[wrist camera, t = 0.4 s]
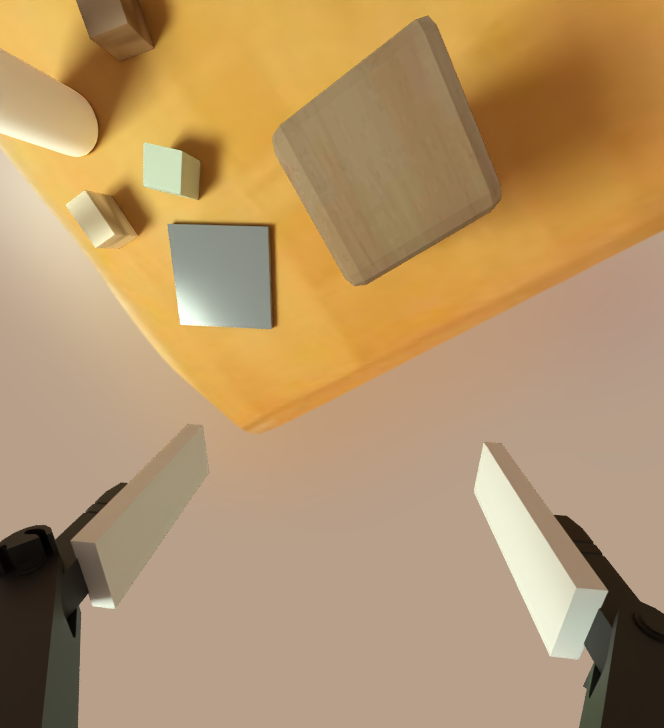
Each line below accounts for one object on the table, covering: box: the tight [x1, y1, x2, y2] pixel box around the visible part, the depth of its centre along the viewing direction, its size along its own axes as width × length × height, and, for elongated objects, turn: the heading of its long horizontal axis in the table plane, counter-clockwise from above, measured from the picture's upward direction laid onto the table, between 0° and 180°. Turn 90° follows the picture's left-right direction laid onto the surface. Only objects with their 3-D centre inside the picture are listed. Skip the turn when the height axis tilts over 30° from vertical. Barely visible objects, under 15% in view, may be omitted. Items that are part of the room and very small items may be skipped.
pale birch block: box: [66, 190, 138, 249], centre depth 37 cm, size 5×3×4 cm, turn 28°
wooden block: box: [272, 16, 501, 286], centre depth 27 cm, size 10×10×20 cm
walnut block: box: [76, 0, 154, 62], centre depth 31 cm, size 4×4×4 cm
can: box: [0, 48, 98, 157], centre depth 30 cm, size 6×6×12 cm
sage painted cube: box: [143, 143, 200, 200], centre depth 35 cm, size 4×4×4 cm
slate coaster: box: [168, 224, 273, 329], centre depth 39 cm, size 12×12×1 cm
